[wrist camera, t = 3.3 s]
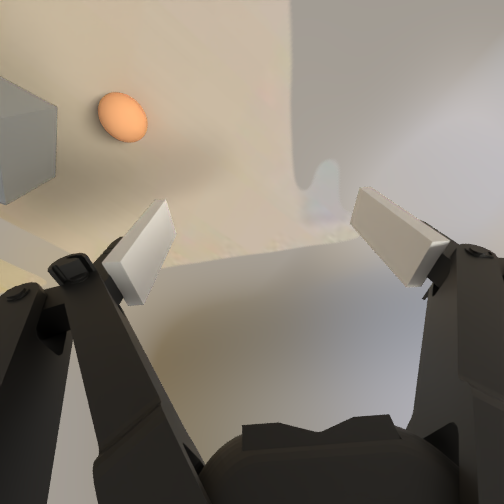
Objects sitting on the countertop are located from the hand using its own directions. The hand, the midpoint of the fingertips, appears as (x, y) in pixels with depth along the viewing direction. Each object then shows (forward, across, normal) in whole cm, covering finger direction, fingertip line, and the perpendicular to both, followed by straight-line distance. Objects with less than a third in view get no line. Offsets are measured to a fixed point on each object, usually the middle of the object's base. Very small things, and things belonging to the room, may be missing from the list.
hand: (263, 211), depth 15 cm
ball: (+17, -15, +5) cm, 23 cm away
